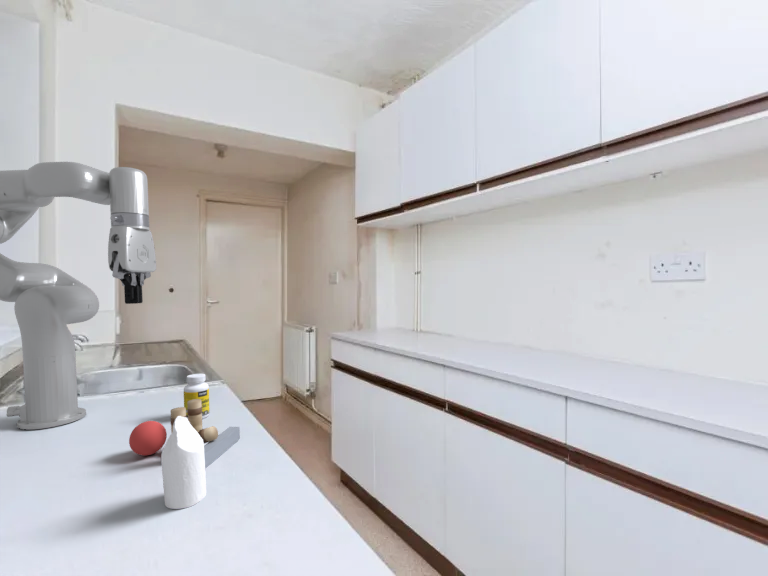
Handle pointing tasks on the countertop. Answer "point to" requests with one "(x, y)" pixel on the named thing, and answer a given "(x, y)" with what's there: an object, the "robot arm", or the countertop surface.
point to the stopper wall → (221, 444)
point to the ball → (147, 438)
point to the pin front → (208, 434)
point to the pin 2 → (195, 413)
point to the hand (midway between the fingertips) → (133, 303)
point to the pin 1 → (177, 414)
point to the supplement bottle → (197, 392)
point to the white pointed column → (183, 466)
